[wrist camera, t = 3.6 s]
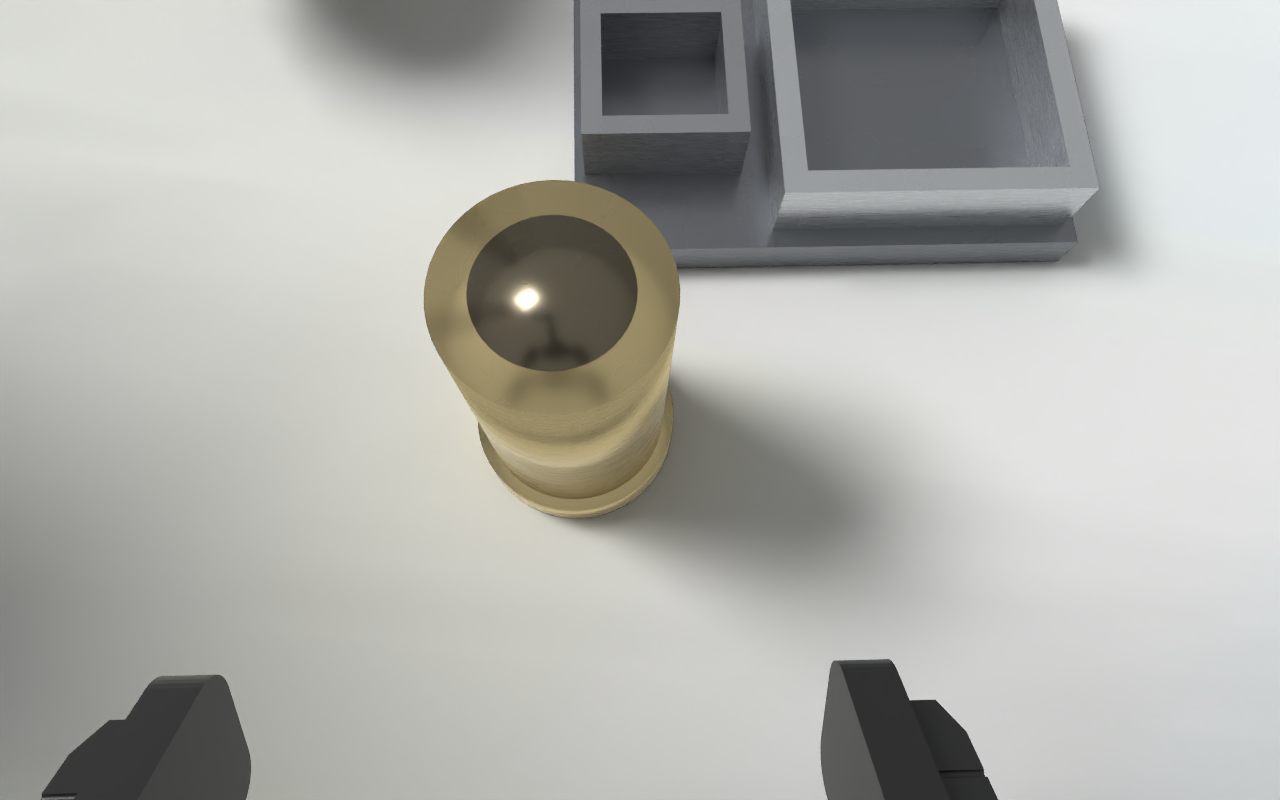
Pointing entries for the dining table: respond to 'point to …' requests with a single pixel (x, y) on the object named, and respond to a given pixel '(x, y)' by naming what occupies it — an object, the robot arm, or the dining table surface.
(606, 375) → the brass fitting
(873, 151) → the plate
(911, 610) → the dining table surface
